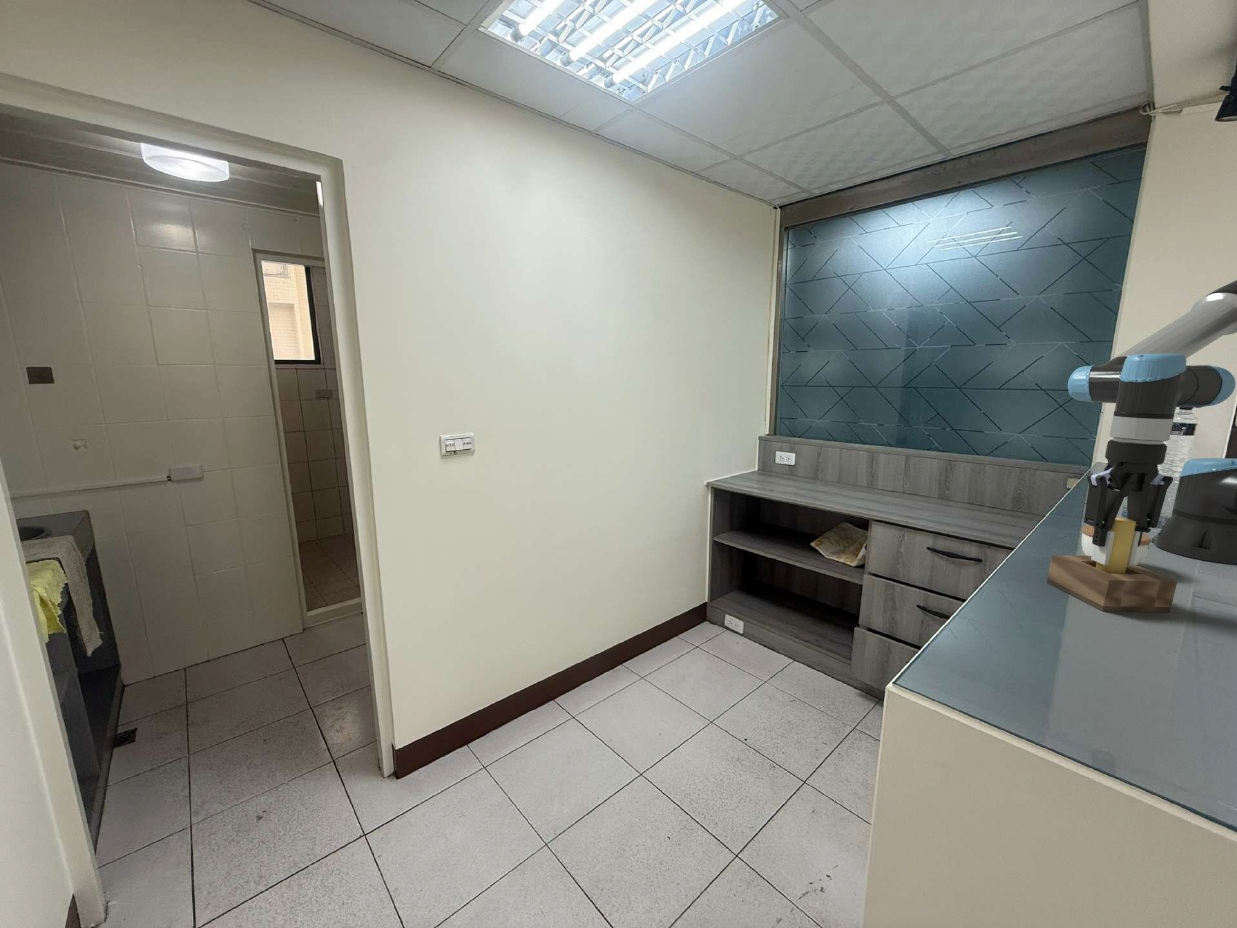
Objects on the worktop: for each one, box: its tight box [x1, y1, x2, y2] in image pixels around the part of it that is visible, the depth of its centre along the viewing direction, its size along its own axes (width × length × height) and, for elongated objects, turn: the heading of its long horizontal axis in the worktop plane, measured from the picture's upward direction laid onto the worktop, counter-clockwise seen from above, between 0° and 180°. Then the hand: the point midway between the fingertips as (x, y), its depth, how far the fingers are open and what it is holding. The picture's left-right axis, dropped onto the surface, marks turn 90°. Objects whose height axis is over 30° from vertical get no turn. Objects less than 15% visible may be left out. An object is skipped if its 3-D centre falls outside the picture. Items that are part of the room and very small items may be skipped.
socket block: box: [1046, 554, 1178, 613], centre depth 94 cm, size 12×12×6 cm
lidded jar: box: [1081, 524, 1152, 566], centre depth 109 cm, size 11×11×9 cm
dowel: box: [1096, 516, 1136, 574], centre depth 93 cm, size 4×4×14 cm
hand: (1111, 561), depth 93 cm, fingers closed on dowel, 4 cm apart
